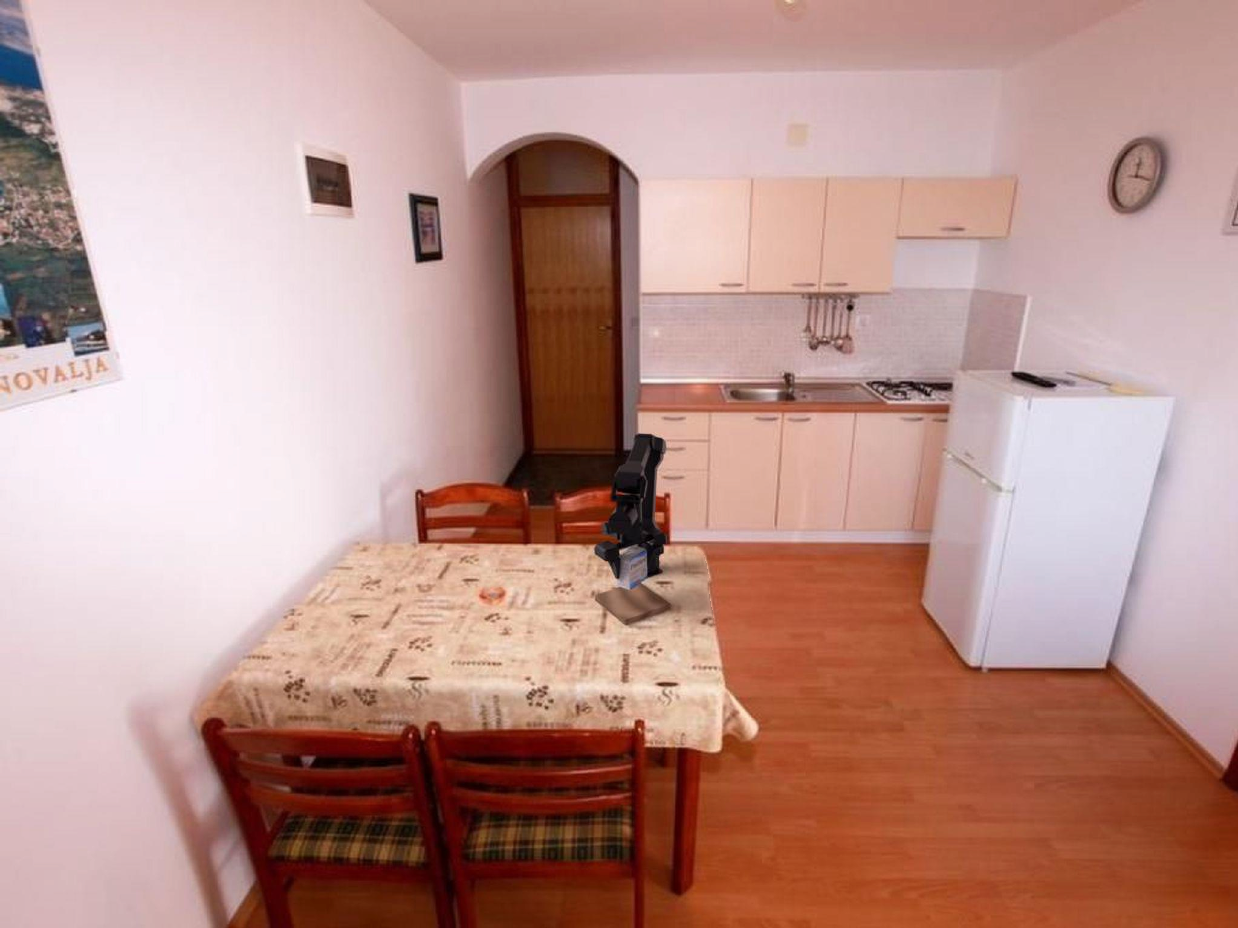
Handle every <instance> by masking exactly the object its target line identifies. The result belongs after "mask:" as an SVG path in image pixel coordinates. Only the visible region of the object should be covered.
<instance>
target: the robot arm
mask: <svg viewBox="0 0 1238 928" xmlns="http://www.w3.org/2000/svg"><path fill="white" fill-rule="evenodd" d="M633 437H634V438H633V445H632V447H631V451H630V454H629V456H628V458H627V460H626V462H625V463H623V464H622V465H620V466H619V467H618V469H617V471H616V473H615V474H614V475H613V479H612V484H611V485H612V486H611V492H610V501H609V502H613V503H616V505H615V506H616V507H615V509H613V512H612V513H611V514H610V516H609V518H608V521H606V522H602V523H601V527H600V528H601V533H602V535H603V536H608V537H609V538H612V537H614V540H616V541H619V542H617V543H613V542H611V541H609V540H605V541H603V542H599V543H596V544H595V546H594V555H596V556H597V558H600V559H601V560H602V561H604V562H607V563H608V565H609V566H610V569H611V571H612V574H613V576H614V578H615V579H619V575H620V563H621V559H620V558H619V555H620V554H621V553H620V551H621V552H622V551H625V550H627V549H629V548H631V547H634V546H638V547H641V548H644V549H646V550H647V578H649V577H653V576H656V575H658V574H661V573H663V569H661V568H660V557H661V555H664V554H665V546H664V545H666V544H667V535H666V533H665V532H664V531H662V530H660V527H659V526H658V524H657V522H656V520H655V517H656V499H657V498H656V497H657V478H658V468H659V466H660V465H661V464H662V462H663V461H664V459H665V458H664V457H665V456H664V455H665V454H666V453H667V442H666V440H665V439H664V438H663V437H660V436H656V435H654V434H652V433H641V432H638V433H636V434H635V435H634V436H633Z"/></svg>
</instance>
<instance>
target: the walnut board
mask: <svg viewBox="0 0 1238 928" xmlns="http://www.w3.org/2000/svg"><path fill="white" fill-rule="evenodd" d="M594 601H595V602H596V603H598V604H599V606H601V607H602V608H603V609H605V610H606V611H607V612H609V613H610V614H611V615H612V616H613V617H615V618H616V619H617V620H618V621H620V622H621V623H622V624H623V625H624V626H627V625H630V624H632V623H636V622H638V621H640V620H641V621H642V620H644V619H646V618H648V617H649V618H650V617H652V616H654V615H657V614H660V613H663V612H666V611H668V610H670V609H671V608H672V603H671V602H669V601H668V600H667V599H666V598H663V597H662V596H661V595H660V594H658V593H657V592H655V591H654V590H653V589H651V588H650V587H648V586H646V585H645V584H643V582H641V583H640V584H638V585H637V586H635V587H634V588H633V589H631V590H628V589H625V588H622V587H619V586H617V587H616V588H612V589H609V590H606V591H603V592H601V593H598V594H594Z"/></svg>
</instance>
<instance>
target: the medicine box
mask: <svg viewBox="0 0 1238 928" xmlns="http://www.w3.org/2000/svg"><path fill="white" fill-rule="evenodd" d="M619 558H620V559H621V563H620V575H619V579H616V578H615V579H616V581H615V583H616V586H617V587H622V588H625V589H628V590H631V589H633V588H634V587H635V586H637V585H638V584H640V583H643V582H644V581H645V580H647V579H648V577H647V550H646V549H644V548H641V547H638V546H634V547H631V548H627V549H625V550H623V552H622V551H621V553H620V555H619Z"/></svg>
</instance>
